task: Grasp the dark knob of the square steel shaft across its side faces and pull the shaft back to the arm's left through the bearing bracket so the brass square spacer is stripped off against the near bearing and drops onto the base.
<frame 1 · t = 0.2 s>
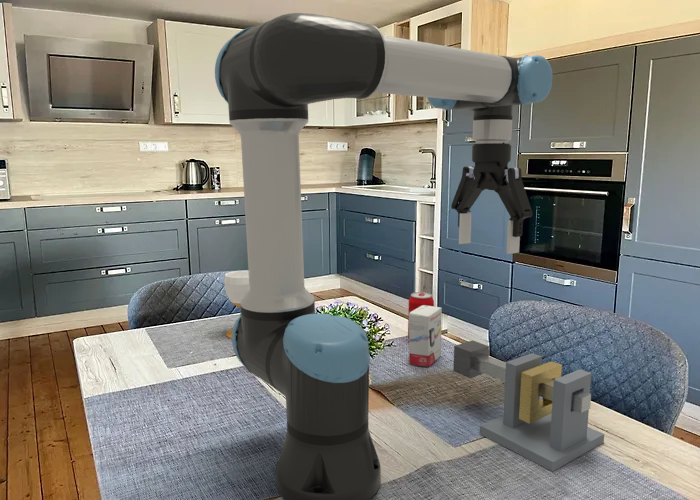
hand: (487, 248, 114), 27 cm above the table, fingers open, 13 cm apart
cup: (243, 334, 146), on the table
ink box: (424, 360, 127), on the table
spacer: (539, 414, 92), point 4 cm above the table, touching shaft
bearing bracket: (525, 430, 95), on the table
beverage can: (420, 341, 139), on the table
shaft: (518, 377, 95), point 9 cm above the table, slide at 0.0 cm, touching spacer
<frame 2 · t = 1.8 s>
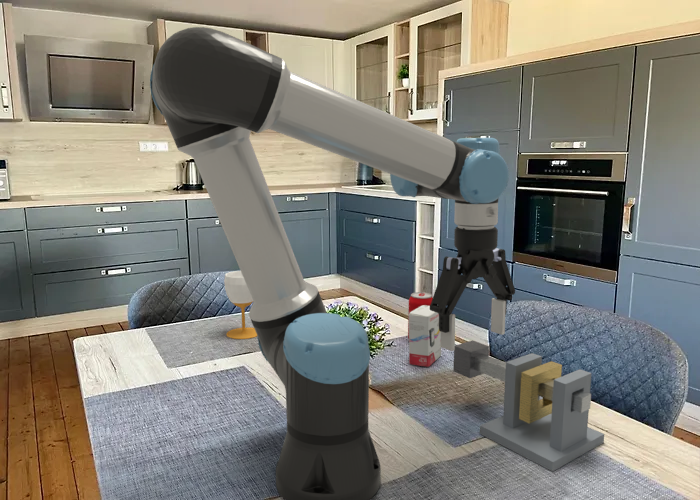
hand: (473, 340, 102), 13 cm above the table, fingers open, 13 cm apart
nothing on the table moved.
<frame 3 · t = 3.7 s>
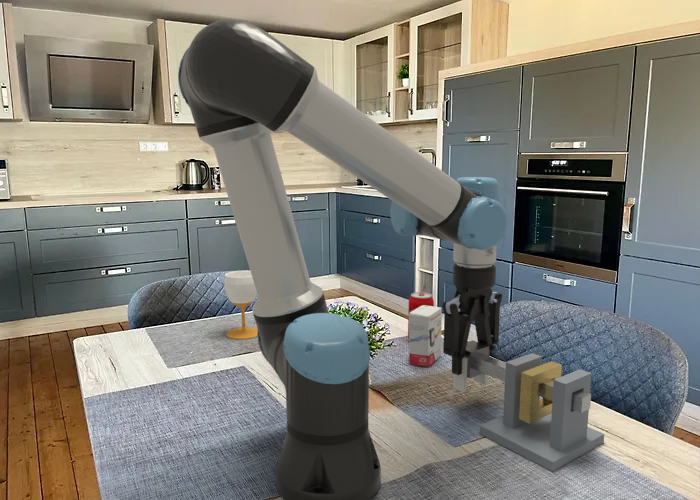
hand: (470, 385, 104), 4 cm above the table, fingers closed on shaft, 5 cm apart
shaft: (518, 377, 95), point 9 cm above the table, slide at 0.0 cm, touching gripper, spacer
everything else where it was.
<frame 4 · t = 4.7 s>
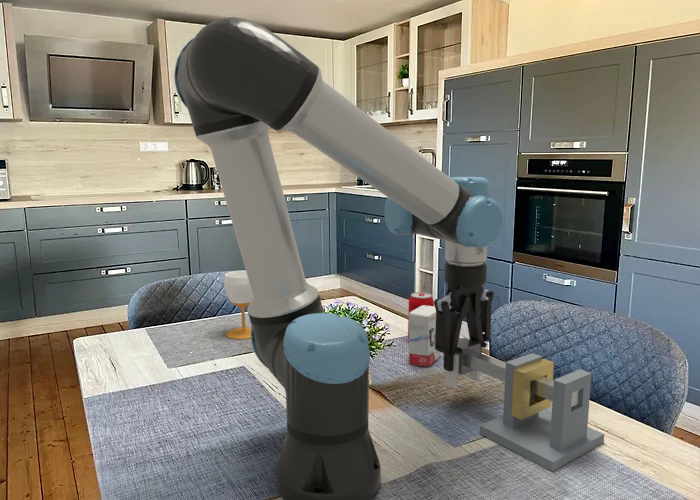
hand: (462, 381, 105), 4 cm above the table, fingers closed on shaft, 5 cm apart
spacer: (531, 411, 93), point 4 cm above the table
shaft: (508, 373, 96), point 9 cm above the table, slide at 2.0 cm, touching gripper
everything else where it was.
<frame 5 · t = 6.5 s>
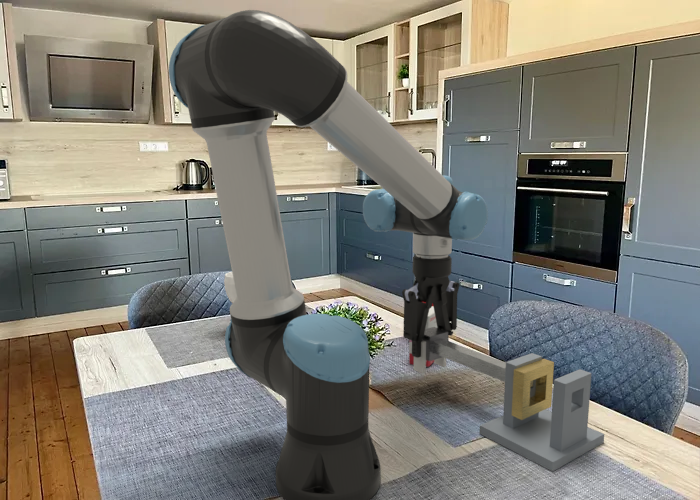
hand: (429, 367, 112), 4 cm above the table, fingers closed on shaft, 5 cm apart
shaft: (471, 359, 103), point 9 cm above the table, slide at 10.4 cm, touching gripper
everything else where it was.
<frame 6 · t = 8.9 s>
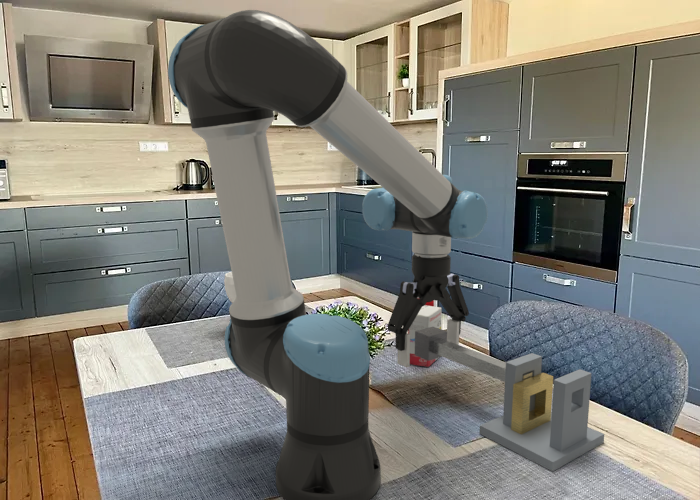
hand: (428, 357, 112), 6 cm above the table, fingers open, 13 cm apart
spacer: (531, 425, 93), point 1 cm above the table, touching bearing bracket
shaft: (470, 358, 103), point 9 cm above the table, slide at 10.6 cm
everything else where it was.
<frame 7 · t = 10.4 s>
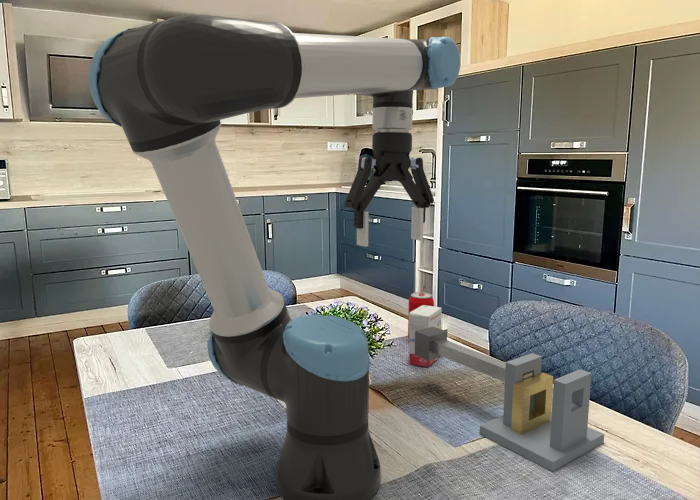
hand: (390, 242, 109), 29 cm above the table, fingers open, 13 cm apart
nothing on the table moved.
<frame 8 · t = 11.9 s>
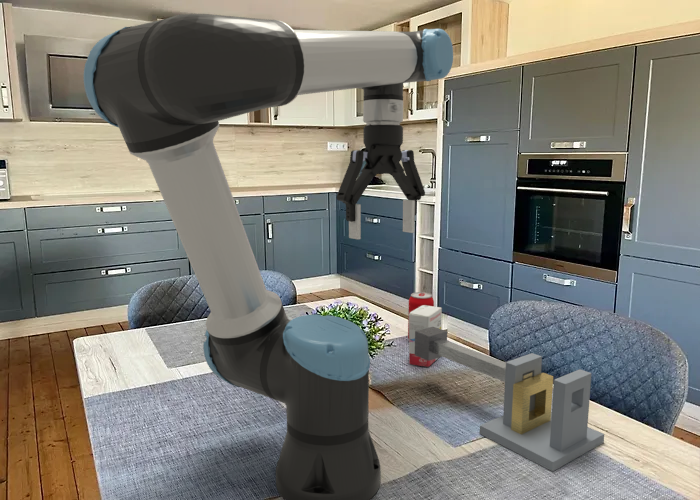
hand: (382, 235, 109), 31 cm above the table, fingers open, 13 cm apart
nothing on the table moved.
at the end: shaft slide at 10.6 cm; spacer point 1.5 cm above the table; spacer touching bearing bracket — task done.
